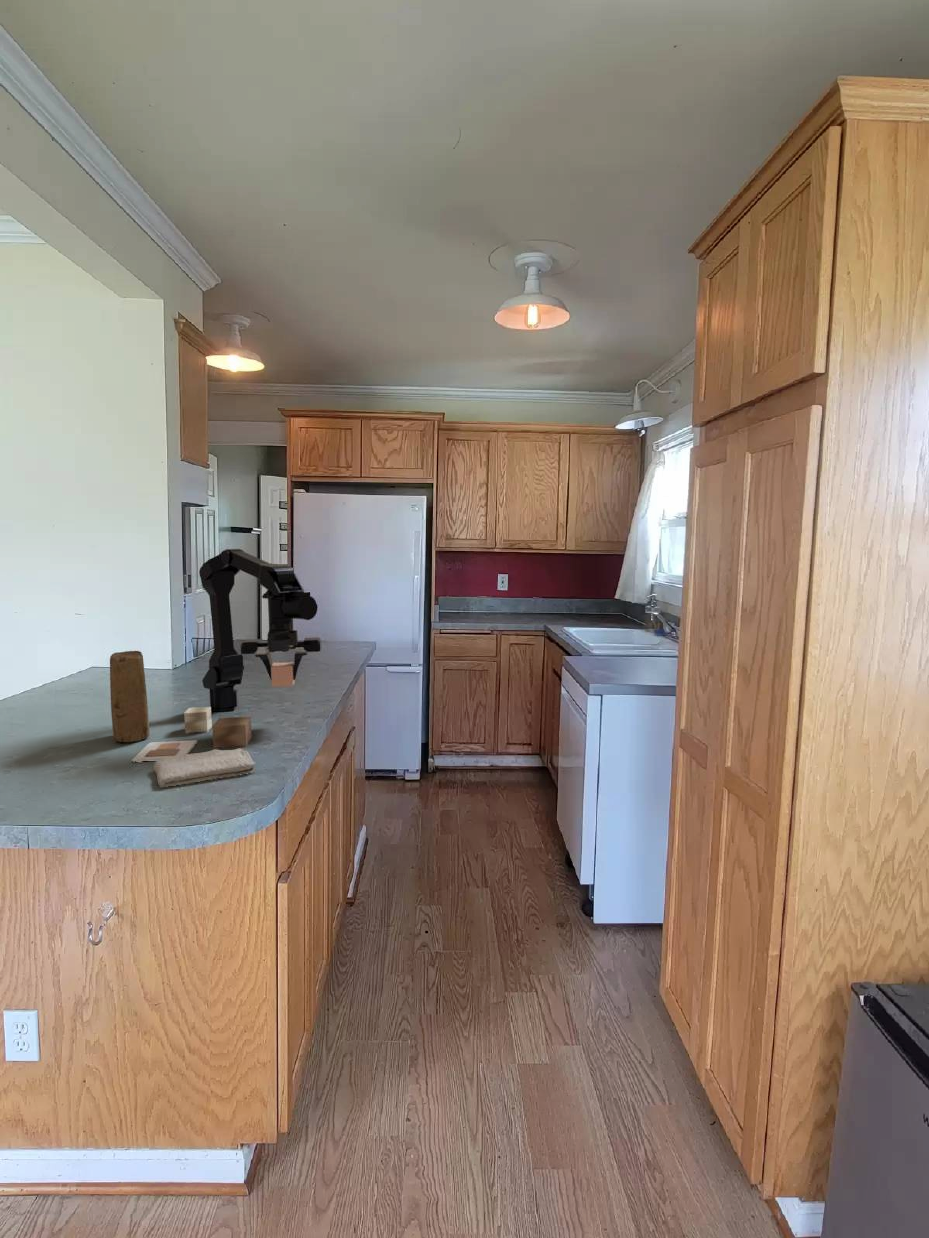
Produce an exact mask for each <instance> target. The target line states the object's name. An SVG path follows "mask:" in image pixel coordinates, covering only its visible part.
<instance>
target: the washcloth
mask: <svg viewBox="0 0 929 1238" xmlns="http://www.w3.org/2000/svg"><path fill="white" fill-rule="evenodd" d="M256 764H257V762H255V761H254V759H253V758H252V757H251V755H250V754H249V752H248V751H247V750H244V749H243V748H240V747H238V748H236V749H231V750H230V749H228V750H227V749H225V750H224V749H223V750H220V749H218V748H213V749H212V750H209V751H203V752H197V753H196V752H195V753H188V754H186V755H181V756H177V757H170V758H163V759H161V760H159V761H156V762H154V764H153V770H154V772H155V774H156V777H157V778H156V781H157V783H158V786H159V788H161V787H168V786H174V787H176V786H175V785H179V784H186V785H189V784H188V783H192V782H193V783H192V784H195V783H194V782H198V781H204V780H210V781H214V780H213V779H215V780H217V779H216V778H220V777H227V778H231V777H230V776H234V777H236V776H235V775H240V774H246V773H253V774H255V767H254V765H256ZM240 776H241V775H240ZM168 788H169V787H168Z"/></svg>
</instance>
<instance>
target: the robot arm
mask: <svg viewBox="0 0 929 1238" xmlns="http://www.w3.org/2000/svg"><path fill="white" fill-rule="evenodd" d="M240 571H241V572H243V573H246V574H248V575H250V576H252V577H254V578H256V579H258V584H259V585H261V587H263V588H265V590H266V592H264V593H263V594H262V596H261V598H262V599H267V612H268V632H267V636H266V637H267V638H266V642H265V641H263V642H261V639H259V638H258V639H257V638H256V639H255V638H254V639H253V638H252V639H245V640H244V641H243V642H242V643H240V653H238V651H237V650H236V648H235V644H234V633H233V632H234V631H233V622H232V620H233V619H232V613H231V612H232V610H231V601H230V594H231V592H232V590H233V588H234V586H235V576H236V575H237V574H239V573H240ZM199 577H200V582H201V586H202V588H203V589H204V591H205V592H206V594H208V596H209V597H208V598H209V605H210V617H211V618H210V619H211V629H212V638H213V651H212V653H211V656H210V658H209V660H208V670H207V672H206V673H205V675H204V676H203V678H202V679H201V681H202V686H203V688H204V689H209V690H208V691H209V707H211V712H225V711H235V710H236V708H237V707H238V706H239V690H238V689H236V688H237V687H236V686H237V685H241V684H242V680H243V674H244V670H245V666H244V656H243V655H253V654H254V656H255V658H260V660H261V661H262V663H263V665H264V666H265V667H264V668H265V669H266V671H267V675H268V677H269V680H270V681H271V682H272V680H271V666H272V664H273V662H272V653H276V652H282V653H283V652H284V653H286V652H288V651H290V650H295V652H294V659H293V662H294V670H293V680H296V678H297V674H298V672H299V667H300V664H301V662H302V658H303V656H307V655H308V653H315V652H316V653H317V652H321V650H322V639H321V638H320V637H317V636H316V637H305V638H304V640H302V641H300V640H299V639H298V638H299V637H298V630H294V619H295V620H303V621H304V620H305V621H310V620H312V619H314V618H315V617H316V615H317V613H318V604H317V602H316V598H314V597H313V596H311V590H310V591H309V590H305V589H304V587H303V585H302V583H301V582H300V580H299V578H298V576H297V573H296V572H295V569H294V568H293V567H292V566H291V565H286V564H279V563H272V562H271V563H269V562H267V561H266V560H263V559H260V558H259V557H257V556H255V555H252V554H250V553H247V552H245V551H244V550H243V549H240V548H227V549H224V550H222V551H221V553H219V554H217V555H215V556H213V557H212V558H209V559H208V560H206V561H205V562H203V564H202V566H201V567H200V568H199Z"/></svg>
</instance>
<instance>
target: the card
mask: <svg viewBox="0 0 929 1238" xmlns="http://www.w3.org/2000/svg"><path fill="white" fill-rule="evenodd" d="M195 744H196V745H197V744H198V739H197V740H196V739H194V740H174V741H172V740H171V741H158V742H157V741H155V742H154V741H153V742H149V743H148V744H146V745H145V746H144V748H142V749H141V751H139V752H138V754H136V755H135V756H134V758H132V759H131V762H132V761H148V760H161V759H163V758H170V757H177V756H181V755H186V754H190V752H191V751H192V750H193V749H194V747H195V746H196V745H195ZM191 749H192V750H191Z"/></svg>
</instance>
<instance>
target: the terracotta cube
mask: <svg viewBox="0 0 929 1238" xmlns="http://www.w3.org/2000/svg"><path fill="white" fill-rule="evenodd" d="M293 670H294V661H293V662H291V661H289V662H272V666H271V679H270V681H271V680H272V681H271V687H272V688H277V687H280V688H282V687H294V685H295V682H296V681H295V680H296V679H295V680H293Z"/></svg>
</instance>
